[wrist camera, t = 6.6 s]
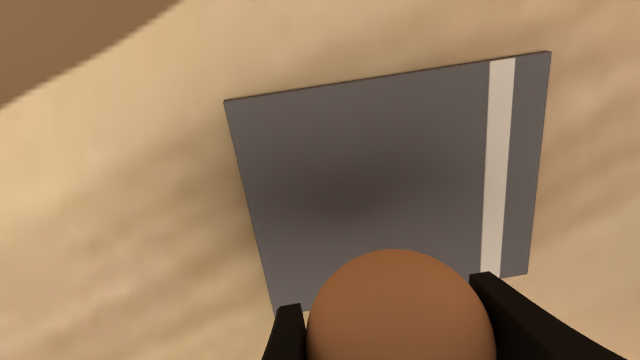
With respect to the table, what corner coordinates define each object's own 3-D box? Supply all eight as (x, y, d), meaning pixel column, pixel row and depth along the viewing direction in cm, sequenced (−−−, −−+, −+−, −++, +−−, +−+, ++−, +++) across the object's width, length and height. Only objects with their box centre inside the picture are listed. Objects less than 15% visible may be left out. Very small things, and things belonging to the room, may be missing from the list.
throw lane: (547, 50, 16) (553, 51, 16) (524, 270, 21) (528, 274, 21) (224, 100, 16) (223, 102, 16) (274, 311, 21) (274, 317, 20)
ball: (451, 204, 12) (552, 327, 8) (450, 325, 14) (528, 477, 10) (289, 230, 12) (294, 371, 8) (312, 349, 14) (327, 514, 10)
